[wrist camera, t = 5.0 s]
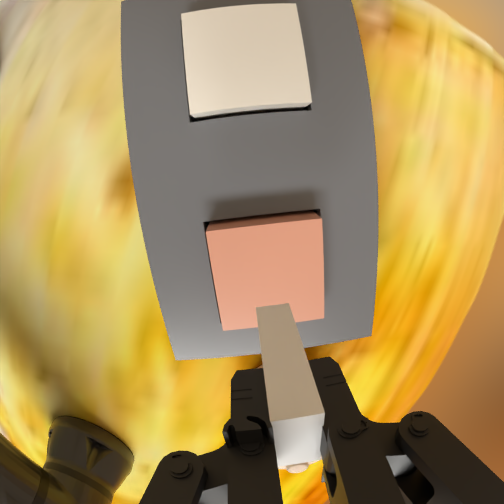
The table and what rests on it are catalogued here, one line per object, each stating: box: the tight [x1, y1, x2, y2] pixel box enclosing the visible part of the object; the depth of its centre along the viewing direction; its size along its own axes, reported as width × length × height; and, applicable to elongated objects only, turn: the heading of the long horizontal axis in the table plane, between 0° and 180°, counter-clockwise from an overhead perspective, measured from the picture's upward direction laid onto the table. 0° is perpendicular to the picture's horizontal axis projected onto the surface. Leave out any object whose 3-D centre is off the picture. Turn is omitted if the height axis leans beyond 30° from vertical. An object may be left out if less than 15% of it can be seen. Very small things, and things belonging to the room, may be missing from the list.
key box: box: [121, 0, 378, 360], centre depth 21 cm, size 16×28×6 cm, turn 6°
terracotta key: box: [206, 210, 324, 331], centre depth 21 cm, size 7×7×4 cm
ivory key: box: [181, 3, 312, 121], centre depth 16 cm, size 7×7×4 cm
